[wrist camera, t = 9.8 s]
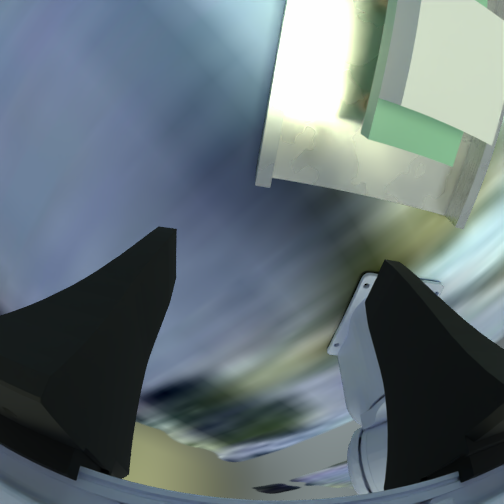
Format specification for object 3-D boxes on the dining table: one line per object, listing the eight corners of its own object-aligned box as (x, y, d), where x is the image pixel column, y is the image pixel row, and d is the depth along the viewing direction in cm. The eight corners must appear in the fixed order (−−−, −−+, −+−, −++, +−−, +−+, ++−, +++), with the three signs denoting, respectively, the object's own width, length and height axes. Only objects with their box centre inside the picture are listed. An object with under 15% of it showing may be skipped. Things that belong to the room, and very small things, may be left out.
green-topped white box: (441, 159, 14) (477, 185, 11) (360, 133, 13) (387, 154, 10) (474, 0, 8) (516, -4, 5) (393, -43, 8) (426, -63, 5)
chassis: (447, 212, 19) (469, 236, 16) (256, 170, 18) (254, 192, 15) (498, -7, 9) (528, -9, 6) (303, -93, 8) (310, -117, 5)
